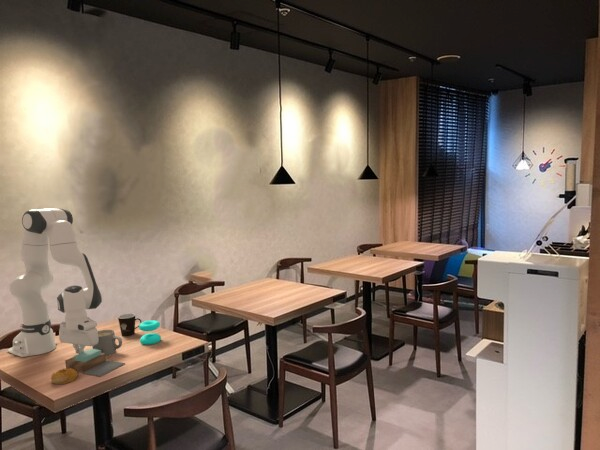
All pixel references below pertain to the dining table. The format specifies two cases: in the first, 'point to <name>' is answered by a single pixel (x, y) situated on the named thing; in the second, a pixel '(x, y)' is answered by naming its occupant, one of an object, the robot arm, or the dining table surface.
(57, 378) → the bagel
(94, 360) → the brown block
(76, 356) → the mint green block
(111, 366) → the mat
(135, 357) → the dining table surface
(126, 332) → the coffee mug
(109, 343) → the coffee mug
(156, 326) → the donuts
